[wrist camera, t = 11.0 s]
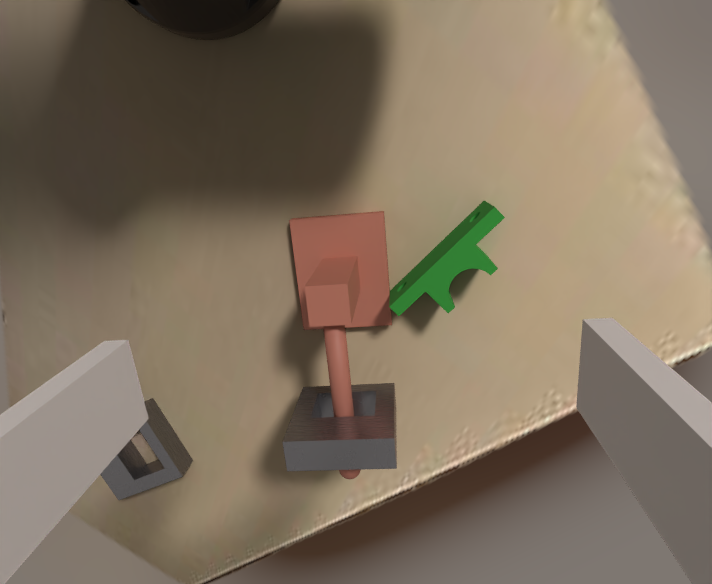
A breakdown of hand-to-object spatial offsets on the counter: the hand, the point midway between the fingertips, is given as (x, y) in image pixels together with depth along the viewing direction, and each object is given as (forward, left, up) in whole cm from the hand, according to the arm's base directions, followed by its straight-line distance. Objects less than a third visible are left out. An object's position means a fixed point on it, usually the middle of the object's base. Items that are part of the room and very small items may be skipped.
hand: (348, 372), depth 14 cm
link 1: (+21, -27, -28) cm, 44 cm away
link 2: (+15, -4, -24) cm, 28 cm away
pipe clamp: (+4, +6, -28) cm, 29 cm away
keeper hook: (+9, -4, -28) cm, 30 cm away
